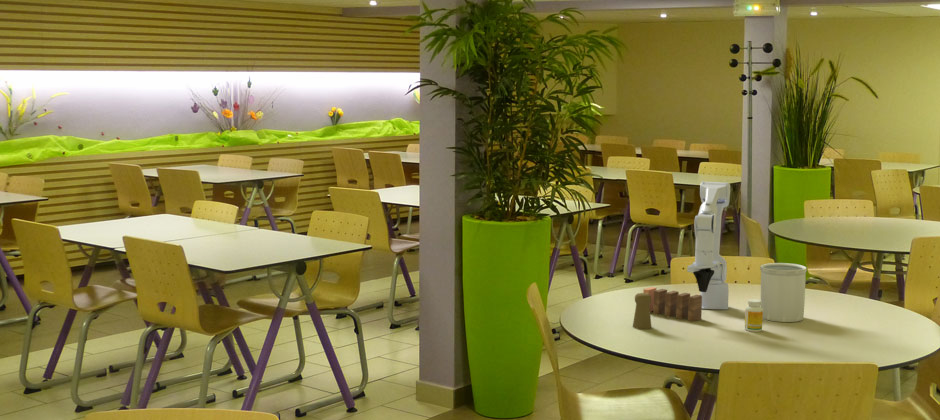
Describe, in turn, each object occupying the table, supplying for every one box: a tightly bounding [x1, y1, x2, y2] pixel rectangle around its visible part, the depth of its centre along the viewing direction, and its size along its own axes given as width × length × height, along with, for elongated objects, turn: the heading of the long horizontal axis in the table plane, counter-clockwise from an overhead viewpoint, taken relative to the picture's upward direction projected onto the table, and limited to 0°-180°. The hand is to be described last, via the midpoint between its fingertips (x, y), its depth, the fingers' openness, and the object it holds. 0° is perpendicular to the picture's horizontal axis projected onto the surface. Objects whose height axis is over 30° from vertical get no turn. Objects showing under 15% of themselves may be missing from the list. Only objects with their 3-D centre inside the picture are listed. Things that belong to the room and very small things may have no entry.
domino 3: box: [664, 290, 680, 318], centre depth 334 cm, size 2×5×8 cm, turn 136°
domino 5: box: [687, 294, 703, 322], centre depth 328 cm, size 2×5×8 cm, turn 136°
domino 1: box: [642, 286, 658, 313], centre depth 340 cm, size 2×5×8 cm, turn 137°
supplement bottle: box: [744, 298, 763, 333], centre depth 314 cm, size 5×5×10 cm
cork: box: [632, 292, 652, 330], centre depth 318 cm, size 6×6×11 cm
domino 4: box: [675, 292, 691, 320], centre depth 331 cm, size 2×5×8 cm, turn 136°
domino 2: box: [652, 288, 668, 316], centre depth 337 cm, size 2×5×8 cm, turn 136°
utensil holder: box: [759, 262, 808, 323], centre depth 331 cm, size 15×15×18 cm
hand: (702, 291), depth 325 cm, fingers closed
